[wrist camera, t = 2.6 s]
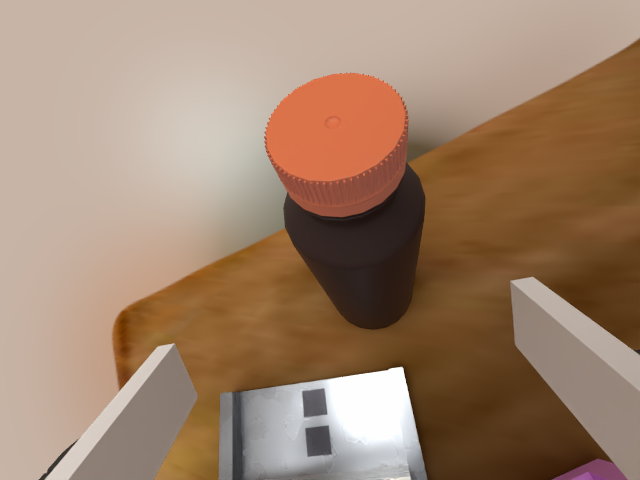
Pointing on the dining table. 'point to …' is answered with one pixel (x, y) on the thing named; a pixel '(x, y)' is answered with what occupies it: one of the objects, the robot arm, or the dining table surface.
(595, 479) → the bracket
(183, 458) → the dining table surface
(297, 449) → the grey base plate
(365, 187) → the vinegar
